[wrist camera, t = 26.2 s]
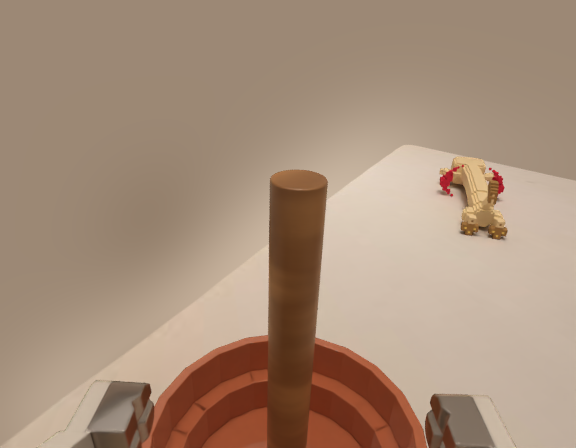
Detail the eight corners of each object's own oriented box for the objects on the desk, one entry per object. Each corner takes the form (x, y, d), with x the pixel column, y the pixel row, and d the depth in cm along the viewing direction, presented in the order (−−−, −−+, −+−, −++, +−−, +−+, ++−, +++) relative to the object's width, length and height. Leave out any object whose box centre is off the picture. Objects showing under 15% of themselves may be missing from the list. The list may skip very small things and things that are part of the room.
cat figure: (518, 249, 56) (489, 176, 76) (539, 193, 51) (503, 131, 72) (442, 238, 58) (434, 170, 78) (456, 183, 53) (444, 126, 74)
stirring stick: (258, 491, 24) (257, 178, 15) (283, 465, 26) (296, 165, 17) (285, 519, 23) (301, 194, 14) (310, 490, 24) (339, 179, 15)
